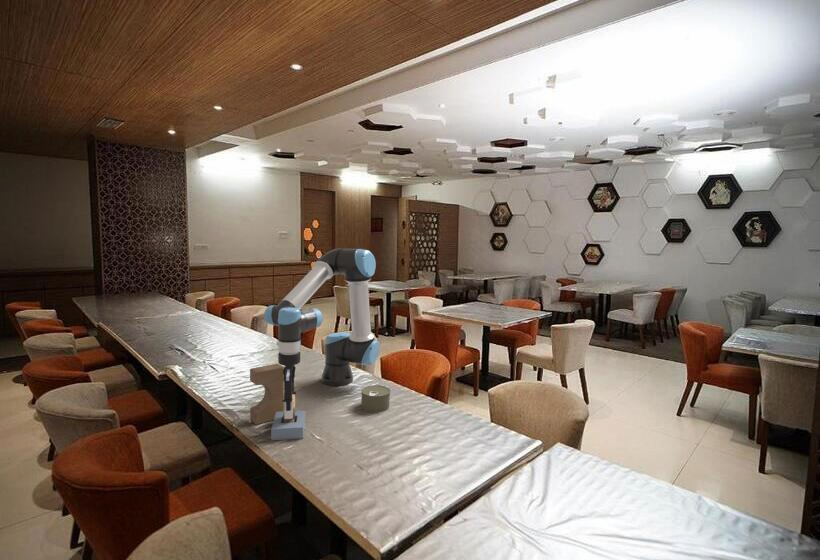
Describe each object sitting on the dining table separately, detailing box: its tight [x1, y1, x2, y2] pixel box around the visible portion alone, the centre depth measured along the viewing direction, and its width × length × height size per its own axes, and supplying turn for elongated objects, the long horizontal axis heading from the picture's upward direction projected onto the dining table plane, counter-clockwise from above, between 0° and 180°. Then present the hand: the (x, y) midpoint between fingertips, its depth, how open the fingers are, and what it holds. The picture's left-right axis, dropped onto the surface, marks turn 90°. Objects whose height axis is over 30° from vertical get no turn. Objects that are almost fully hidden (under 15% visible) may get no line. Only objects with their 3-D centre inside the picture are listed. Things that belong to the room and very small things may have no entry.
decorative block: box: [249, 363, 285, 425], centre depth 156 cm, size 11×6×20 cm, turn 130°
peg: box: [283, 394, 296, 423], centre depth 148 cm, size 4×4×12 cm
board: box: [270, 409, 306, 441], centre depth 148 cm, size 10×14×4 cm
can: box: [360, 385, 391, 413], centre depth 171 cm, size 12×12×7 cm
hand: (289, 415), depth 148 cm, fingers closed on peg, 4 cm apart
